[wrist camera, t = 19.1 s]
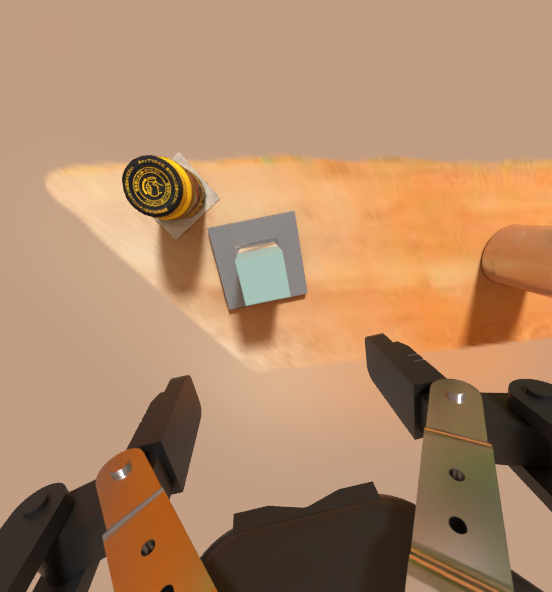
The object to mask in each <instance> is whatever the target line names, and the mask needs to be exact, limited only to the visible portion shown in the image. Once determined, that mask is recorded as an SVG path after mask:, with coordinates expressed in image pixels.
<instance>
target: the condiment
mask: <svg viewBox="0 0 552 592" xmlns="http://www.w3.org/2000/svg"><path fill="white" fill-rule="evenodd" d="M122 183H123V189H124V193H125V195H126V198H127V200H128V201H129V202H130V204H131V205H132V206H133V207H134V208H135V209H137V210H138V211H139V212H141V213H143V214H144V215H148V216H151V217H153V218H154V219H155V220H156V221H157V222H158V223H159V224H160V225H161V226H162V227H163V228H164V229H165V230H166V231H167V232H168V233H169V234H170V235H171V236H172V237H173V238H174V239H175V240H177V239H178V238H179V237H180V236H181V235H182V234H183V233H184V232H185V231H186V230H187V229H188V228H189V227H190V226H191V225H193V224H194V223H195V222H196V221H197V220H198V219H199V218H200V217H201V216H202V215H203V214H204V213H205V212H206V211H207V210H208V209H209V208H211V207H212V206H213V205H214V204H215V203H216V202H217V201H218V200H219V199H220V198H219V197H218V196H217V195H216V193H215V192H214V191H213V190H212V189H211V188H210V187H209V185H208V184H207V183H206V182H205V181H204V180H203V179H202V177H201V176H200V175H199V174H198V173H197V172H196V171H195V169H194V168H193V167H192V166H191V165H190V164H189V163H188V162H187V160H186V159H185V158H184V157H183V156H182V155H181V154H180V153H179V152H178V153H177V154H176V155H175V156H174V157H173V158H172V159H168V158H166V157H156V156H152V155H146V156H141V157H138V158H136V159H133V160H132V161H131V162H130V163H129V164H128V165H127V167H126V168H125V170H124V172H123V176H122Z"/></svg>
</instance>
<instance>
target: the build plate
mask: <svg viewBox="0 0 552 592" xmlns="http://www.w3.org/2000/svg"><path fill="white" fill-rule="evenodd" d="M207 229H208V233H209V236H210V240H211V244H212V248H213V251H214V255H215V259H216V263H217V266H218V270H219V274H220V278H221V281H222V285H223V289H224V293H225V296H226V300H227V304H228V308H229V310H231V309H236V308H240V307H245V306H246V304H245V300H244V296H243V292H242V288H241V284H240V280H239V276H238V271H237V267H236V263H235V260H236V257H237V254H238V252H239V249H241V248H246V247H251V246H256V245H261V244H266V243H271V242H275V243H276V244H277V245H278V247H279V248H280V249H281V250H282V252H283V257H284V262H285V268H286V273H287V279H288V284H289V290H290V295H291V296H290V297H293V296H297V295H302V294H307V287H306V280H305V274H304V268H303V262H302V255H301V249H300V243H299V236H298V230H297V224H296V218H295V211H291V212H286V213H281V214H276V215H271V216H266V217H261V218H256V219H251V220H246V221H241V222H236V223H231V224H226V225H221V226H216V227H211V228H207ZM286 298H288V297H286ZM281 299H283V298H281ZM276 300H278V299H276ZM271 301H274V300H271ZM267 302H269V301H267ZM262 303H264V302H262ZM257 304H259V303H257ZM253 305H255V304H253ZM248 306H250V305H248Z"/></svg>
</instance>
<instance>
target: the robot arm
mask: <svg viewBox="0 0 552 592" xmlns="http://www.w3.org/2000/svg"><path fill="white" fill-rule="evenodd" d="M482 267H483V271H484V273H485V275H486V276H487V277H488V278H489V279H490V280H492V281H494V282H498V283H501V284H505V285H508V286H512V287H515V288H518V289H522V290H525V291H529V292H532V293H536V294H539V295H543V296H546V297H550V298H552V226H535V225H512V226H508V227H506V228H504V229H502V230H501V231H499V232H498V233H497V234H495V235H494V236H493V237H492V239H491V240H490V241H489V242H488V244H487V246H486V248H485V250H484V253H483V257H482ZM365 348H366V360H367V368H368V372H369V375H370V377H371V379H372V381H373V382H374V384H375V385H376V386H377V388H378V389H379V391H380V392H381V393H382V395H383V396H384V398H385V399H386V400H387V401H388V403H389V404H390V406H391V407H392V408H393V410H394V411H395V413H396V414H397V416H398V417H399V418H400V419H401V421H402V422H403V424H404V425H405V427H406V428H407V429H408V431H409V432H410V433H411V435H412V436H413V438H414V439H420V438H423V444H422V454H421V463H420V473H419V481H418V492H417V500H416V505H415V504H413V503H411V502H409V501H406V500H404V499H401V498H398V497H394V496H390V495H384V494H378V492H377V490H376V488H375V486H374V484H373V482H368V483H364V484H360V485H356V486H351V487H347V488H343V489H339V490H337V491H335V492H333V493H332V494H330V495H328V496H326V497H325V498H323V499H321V500H319V501H317V502H315V503H314V504H312V505H310V506H308V507H305V508H297V507H280V506H266V507H261V508H257V509H253V510H249V511H245V512H240V513H236V514H234V520H233V529H231V530H229V531H228V532H226V533H225V534H223V535H222V536H221V537H219V538H218V539H217V540H216V541H215V542H214V543H213V544H212V545H211V546H210V547H209V548H208V549H207V550H206V551H205V552H204V554H203V555H202V556H201V557H199V555H198V553H197V552H196V550H195V548H194V546H193V544H192V542H191V540H190V538H189V536H188V534H187V533H186V531H185V529H184V527H183V525H182V523H181V521H180V519H179V518H178V515H177V514H176V512H175V510H174V508H173V506H172V504H171V502H170V500H169V499H170V496H171V494H176V493H181V492H183V490H184V485H185V481H186V477H187V473H188V469H189V465H190V461H191V457H192V452H193V448H194V444H195V440H196V436H197V432H198V428H199V423H200V419H201V405H200V402H199V399H198V396H197V393H196V390H195V387H194V384H193V382H192V379H191V377H190V376H189V375H186V376H181V377H177V378H172V379H171V380H170V381H169V384H168V386H167V388H166V390H165V392H162V393H160V394H159V395H158V396H157V397H156V398H155V399H154V400H153V401H152V402H151V403H150V405H149V407H148V409H147V411H146V414H145V415H144V417H143V419H142V422H141V423H140V424H139V426H138V428H137V430H136V432H135V434H134V436H133V438H132V440H131V442H130V444H129V445H128V447H127V449H126V450H125V451H123V452H121V453H119V454H117V455H116V456H114V457H113V458H112V459H110V460H109V461H108V462H107V463H106V464H105V465H104V466H103V467H102V469H101V470H100V471H99V473H98V475H97V478H96V480H94V481H92V482H90V483H87V484H85V485H83V486H81V487H79V488H77V489H75V490H73V491H71V492H69V491H68V490H67V488H66V486H65V485H64V484H63V483H54V484H50V485H48V486H45V487H43V488H41V489H40V490H38V491H36V492H35V493H33V494H32V495H31V496H29V497H28V498H27V499H26V500H24V501H23V502H22V503H21V504H20V505H19V506H18V507H17V508H16V509H15V510H14V512H13V513H12V514H11V515H10V517H9V518H8V519H7V521H6V522H5V523H4V525H3V526H2V528H1V529H0V592H26V591H27V589H28V587H29V585H30V584H31V582H32V580H33V578H34V576H35V575H36V573H37V571H38V572H39V573H40V574H41V577H40V579H39V580H38V582H37V584H36V586H35V588H34V590H33V592H88V590H89V588H90V585H91V582H92V580H93V577H94V575H95V572H96V569H97V567H98V564H99V562H100V560H101V559H103V558H105V557H107V561H108V566H109V570H110V575H111V579H112V584H113V588H114V592H543V591H542V590H540V589H539V588H537V587H536V586H534V585H533V584H531V583H530V582H529V581H527V580H526V579H524V578H523V577H521V576H520V575H519V574H517V573H516V572H514V571H513V570H511V568H510V561H509V555H508V548H507V541H506V534H505V528H504V521H503V514H502V507H501V500H500V494H499V487H498V480H497V473H496V467H495V464H500V465H508V466H509V467H510V468H511V469H512V470H513V471H514V472H515V473H516V474H517V475H518V476H519V477H520V478H521V480H522V481H523V482H524V483H525V484H526V485H527V486H528V487H529V488H530V489H531V490H532V491H533V492H534V493H535V494H536V496H538V498H540V500H541V501H542V502H543V503H544V504H545V505H546V506H547V507H548V508H549V509H550V510H551V512H552V384H549V383H546V382H543V381H539V380H533V379H518V380H514V381H512V382H511V383H510V384H509V388H508V393H481V392H479V391H478V390H477V389H476V388H475V387H473V386H472V385H470V384H468V383H466V382H463V381H460V380H456V379H447V378H445V377H444V376H443V375H442V374H441V373H439V372H438V371H437V370H436V369H435V368H434V367H432V366H431V365H430V364H429V363H428V362H427V361H426V360H423V358H422V357H421V356H420V355H418V354H417V353H416V352H415V351H414V350H413V349H411V348H410V347H409V346H407V345H405V344H402V343H400V342H398V341H397V342H392V341H391V340H390V339H389V338H388V337H387V336H385V335H384V334H383V333H381V334H377V335H372V336H368V337H366V338H365Z"/></svg>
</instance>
